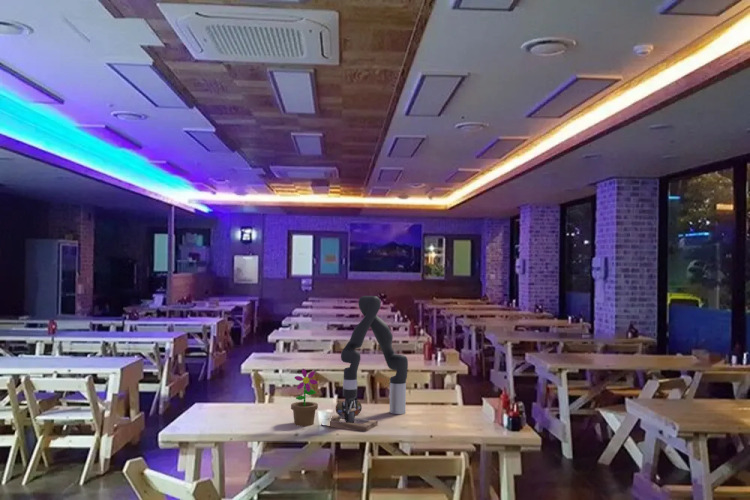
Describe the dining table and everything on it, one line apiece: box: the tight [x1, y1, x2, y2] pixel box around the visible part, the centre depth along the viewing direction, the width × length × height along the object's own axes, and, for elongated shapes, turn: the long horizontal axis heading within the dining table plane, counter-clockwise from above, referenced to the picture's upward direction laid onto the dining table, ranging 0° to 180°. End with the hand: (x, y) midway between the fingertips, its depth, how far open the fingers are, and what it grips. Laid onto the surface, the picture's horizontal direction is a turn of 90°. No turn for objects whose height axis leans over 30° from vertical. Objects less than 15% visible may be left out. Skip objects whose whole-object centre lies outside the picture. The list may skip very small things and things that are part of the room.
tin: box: [335, 400, 363, 417], centre depth 369 cm, size 15×3×8 cm, turn 112°
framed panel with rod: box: [330, 414, 379, 432], centre depth 347 cm, size 14×26×2 cm, turn 65°
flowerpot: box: [290, 368, 319, 427], centre depth 349 cm, size 14×14×30 cm
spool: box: [344, 408, 355, 423], centre depth 347 cm, size 5×5×9 cm
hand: (349, 419), depth 347 cm, fingers open, 6 cm apart
